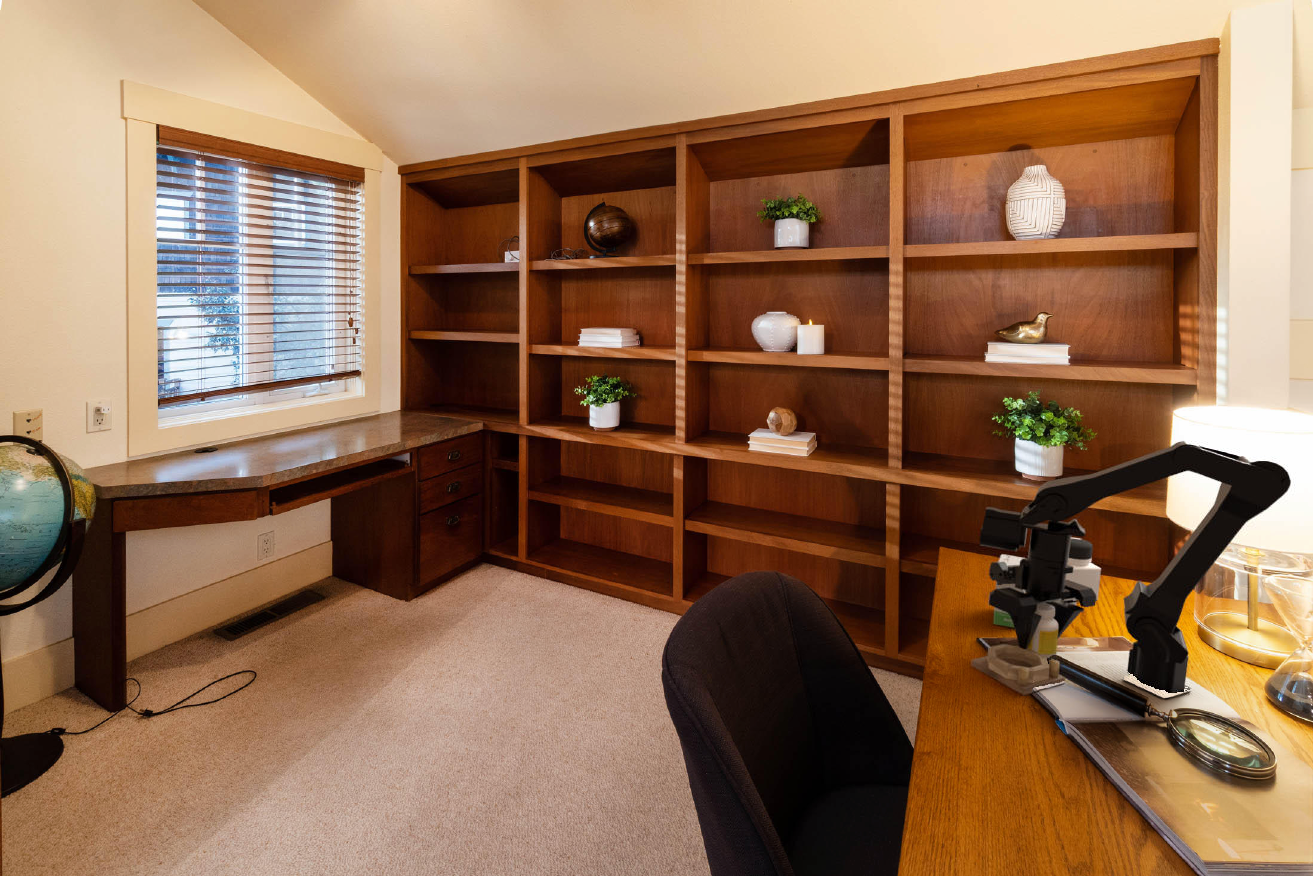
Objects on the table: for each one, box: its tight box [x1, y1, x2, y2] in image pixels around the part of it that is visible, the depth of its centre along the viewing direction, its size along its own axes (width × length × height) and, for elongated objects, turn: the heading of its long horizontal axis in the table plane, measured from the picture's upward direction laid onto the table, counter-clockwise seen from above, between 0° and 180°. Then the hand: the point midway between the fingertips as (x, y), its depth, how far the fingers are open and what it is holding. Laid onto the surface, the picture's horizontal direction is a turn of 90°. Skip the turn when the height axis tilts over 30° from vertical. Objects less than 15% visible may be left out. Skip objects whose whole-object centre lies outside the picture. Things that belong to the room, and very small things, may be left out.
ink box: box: [993, 554, 1026, 629], centre depth 127 cm, size 9×5×12 cm, turn 148°
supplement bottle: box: [1027, 603, 1059, 658], centre depth 111 cm, size 5×5×10 cm
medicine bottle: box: [1066, 537, 1102, 601], centre depth 139 cm, size 7×7×12 cm
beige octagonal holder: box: [970, 643, 1066, 696], centre depth 107 cm, size 10×9×3 cm
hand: (1036, 645), depth 111 cm, fingers open, 6 cm apart
